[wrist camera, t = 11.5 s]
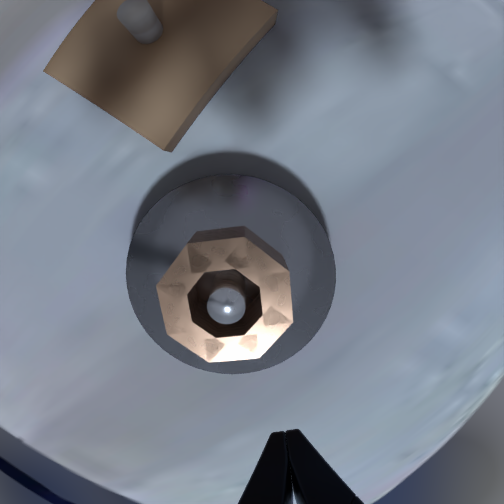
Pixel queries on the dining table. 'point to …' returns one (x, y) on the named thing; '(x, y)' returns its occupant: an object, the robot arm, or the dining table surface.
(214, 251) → the octagonal wooden ring
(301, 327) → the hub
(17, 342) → the dining table surface
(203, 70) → the stand
